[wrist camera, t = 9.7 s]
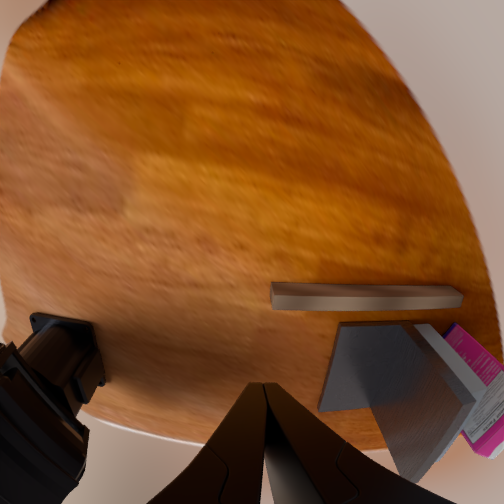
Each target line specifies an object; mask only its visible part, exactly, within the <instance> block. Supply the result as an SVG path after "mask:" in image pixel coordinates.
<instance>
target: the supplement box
mask: <svg viewBox="0 0 504 504" xmlns="http://www.w3.org/2000/svg"><path fill="white" fill-rule="evenodd" d="M442 338H443V339H444V340H445V341H446V342H447V343H448V344H449V345H450V346H451V347H452V348H453V349H454V350H455V352H456V353H457V354H458V355H459V356H460V357H461V358H462V359H463V360H464V361H465V363H466V364H467V365H468V366H469V367H470V368H471V369H472V370H473V372H474V373H475V374H476V375H477V376H478V377H479V378H480V380H481V381H482V382H483V383H484V384H485V385H486V386H487V388H488V389H487V391H486V392H485V394H484V396H483V398H482V399H481V401H480V403H479V404H478V406H477V408H476V409H475V411H474V413H473V414H472V416H471V417H470V419H469V420H468V422H467V423H466V425H465V426H464V428H463V429H462V431H461V433H462V435H463V436H464V438H465V439H466V441H467V442H468V444H469V445H470V447H471V448H472V450H473V451H474V452H475V453H477V454H479V455H481V456H484V457H486V458H489V459H492V460H493V459H494V458H495V457H496V456H497V455H498V454H499V453H500V452H501V451H502V450H503V449H504V366H503V365H502V364H501V363H500V362H499V361H498V360H497V359H496V358H495V357H493V356H492V355H491V354H490V353H489V352H488V351H487V350H486V349H485V348H484V347H483V346H482V345H480V344H479V343H478V342H477V341H476V340H475V339H474V338H473V337H472V336H471V335H469V334H468V333H467V332H466V331H465V330H464V329H463V328H461V327H460V326H459V325H458V324H457V323H454V324H453V325H452V326H451V327H450V328H449V329H448V331H447V332H446V333H445V334H444V335H443V336H442Z"/></svg>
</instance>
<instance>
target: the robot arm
mask: <svg viewBox="0 0 504 504" xmlns="http://www.w3.org/2000/svg"><path fill="white" fill-rule="evenodd" d="M34 318H35V319H34ZM30 322H31V326H32V329H33V333H32V334H31V335H30V336H29V337H28V339H27V340H26V341H25V342H24V343H23V344H22V345H21V346H20V347H19V348H18V349H16V346H15V344H14V343H13V341H11V342H10V343H8V344H7V345H5V344H2V343H0V504H61V503H62V502H63V500H64V499H65V498H66V496H67V495H68V494H69V493H70V492H71V491H72V490H73V489H74V488H75V487H77V486H78V484H79V481H80V479H81V478H82V476H83V473H84V471H85V467H86V457H87V448H88V440H89V432H90V430H89V429H88V428H87V427H86V426H85V425H82V423H81V422H80V421H78V420H77V419H76V416H77V414H78V412H79V410H80V409H81V407H82V405H83V404H88V403H89V401H90V400H91V398H92V396H93V394H94V392H95V390H96V388H97V386H100V387H103V386H104V385H105V383H106V379H105V375H104V373H105V371H104V367H103V363H102V359H101V355H100V351H99V349H98V347H97V343H96V338H95V334H94V329H93V326H92V325H91V324H90V323H89V322H85V321H79V320H72V319H66V318H61V317H55V316H49V315H44V314H39V313H33V314H31V315H30ZM86 327H87V328H88V330H87V329H86ZM264 459H265V463H266V468H267V473H268V477H269V482H270V486H271V491H272V496H273V500H274V504H456V503H454V502H452V501H449V500H447V499H445V498H443V497H441V496H438V495H437V494H434V493H432V492H430V491H428V490H426V489H424V488H422V487H420V486H418V485H416V484H414V483H412V482H410V481H409V480H407V479H405V478H403V477H401V476H399V475H397V474H395V473H394V472H392V471H390V470H388V469H386V468H385V467H383V466H381V465H380V464H378V463H377V462H375V461H373V460H372V459H370V458H369V457H367V456H366V455H364V454H363V453H362V452H360V451H359V450H357V449H356V448H355V447H354V446H352V445H351V444H350V443H348V442H346V441H345V440H344V439H343V438H341V437H340V436H339V435H338V434H336V433H335V432H334V431H333V430H331V429H330V428H329V427H328V426H326V425H325V424H324V423H323V422H322V421H320V420H319V419H318V418H317V417H316V416H314V415H313V414H312V413H311V412H310V411H309V410H307V409H306V408H305V407H304V406H303V405H301V404H300V403H299V402H298V401H297V400H296V399H295V398H293V397H292V396H291V395H290V394H289V393H288V392H287V391H285V390H284V389H283V388H282V387H281V386H280V385H279V384H277V383H263V384H262V383H260V382H249V383H248V384H247V386H246V387H245V389H244V390H243V392H242V393H241V395H240V396H239V398H238V399H237V400H236V402H235V403H234V405H233V406H232V408H231V409H230V411H229V412H228V413H227V415H226V416H225V418H224V419H223V421H222V422H221V423H220V425H219V426H218V428H217V429H216V430H215V432H214V433H213V435H212V436H211V437H210V439H209V440H208V441H207V443H206V444H205V446H203V448H202V449H201V450H200V452H199V453H198V454H197V456H196V457H195V458H194V459H193V460H192V462H191V463H190V464H189V465H188V466H187V467H186V468H185V469H184V470H183V472H181V473H180V474H179V475H178V476H177V477H176V478H175V479H174V480H173V481H172V482H171V483H170V484H169V485H167V486H166V487H165V488H164V489H163V490H162V491H161V492H159V493H158V494H157V495H156V496H155V497H154V498H152V499H151V500H150V501H149V502H148V503H147V504H260V499H261V488H262V476H263V464H264Z"/></svg>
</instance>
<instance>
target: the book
mask: <svg viewBox="0 0 504 504" xmlns="http://www.w3.org/2000/svg"><path fill="white" fill-rule="evenodd" d="M414 327H415V328H416V329H417V330H418V331H419V332H420V333H421V334H422V336H423V337H424V338H425V339H426V340H427V341H428V342H429V344H430V345H431V346H432V347H433V348H434V349H435V351H436V352H437V353H438V354H439V355H440V356H441V358H442V359H443V360H444V361H445V362H446V364H447V365H448V366H449V367H450V368H451V370H452V371H453V372H454V373H455V374H456V376H457V377H458V378H459V379H460V381H461V382H462V383H463V384H464V385H465V387H466V388H467V389H468V391H469V392H470V393H471V394H472V396H473V397H474V398H475V399H476V403H475V405H474V406H473V408H472V410H471V411H470V413H469V414H468V416H467V418H466V419H465V421H464V422H463V424H462V425H461V427H460V428H459V430H458V431H457V433H456V434H455V436H454V437H453V438H452V440H451V441H450V443H449V444H448V445H447V447H446V448H445V449H444V451H443V452H442V453H441V455H440V456H439V457H438V459H437V460H436V461H435V462H438V461H439V460H440V459H441V458H442V457H443V455H444V454H445V453H446V451H447V450H448V449H449V448H450V446H451V445H452V443H453V442H454V440H455V439H456V438H457V437H458V435H459V434H460V432H461V431H462V429H463V428H464V426H465V425H466V423H467V422H468V420H469V419H470V417H471V416H472V414H473V413H474V411H475V409H476V408H477V406H478V404H479V403H480V401H481V399H482V398H483V396H484V394H485V392H486V391H487V389H488V388H487V386H486V385H485V384H484V383H483V382H482V381H481V380H480V378H479V377H478V376H477V375H476V374H475V373H474V372H473V370H472V369H471V368H470V367H469V366H468V365H467V364H466V363H465V361H464V360H463V359H462V358H461V357H460V356H459V355H458V354H457V353H456V352H455V350H454V349H453V348H452V347H451V346H450V345H449V344H448V343H447V342H446V341H445V340H444V339H443V338H442V337H441V335H440V334H439V333H438V332H437V331H436V330H435V329H434V328H433V327H432V326H431V325H430V324H415V325H414ZM435 462H434V463H435Z"/></svg>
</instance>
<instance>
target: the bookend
mask: <svg viewBox="0 0 504 504" xmlns="http://www.w3.org/2000/svg"><path fill="white" fill-rule="evenodd" d="M475 403H476V399H475V398H474V397H473V396H472V394H471V393H470V392H469V391H468V389H467V388H466V387H465V385H464V384H463V383H462V382H461V381H460V379H459V378H458V377H457V376H456V374H455V373H454V372H453V371H452V370H451V368H450V367H449V366H448V365H447V364H446V362H445V361H444V360H443V359H442V358H441V356H440V355H439V354H438V353H437V352H436V351H435V349H434V348H433V347H432V346H431V345H430V344H429V342H428V341H427V340H426V339H425V338H424V337H423V336H422V334H421V333H420V332H419V331H418V330H417V329H416V328H415V327H414V325H413V324H412V323H411V322H410V321H387V322H348V323H339V325H338V329H337V334H336V338H335V342H334V347H333V351H332V355H331V359H330V363H329V367H328V371H327V374H326V378H325V382H324V386H323V389H322V393H321V396H320V400H319V403H318V407H317V408H318V412H327V411H339V410H350V409H359V408H367V407H370V408H371V410H372V413H373V415H374V417H375V419H376V421H377V424H378V426H379V428H380V430H381V433H382V435H383V437H384V439H385V442H386V444H387V446H388V449H389V451H390V453H391V456H392V457H393V460H394V463H395V465H396V467H397V470H398V472H399V474H400V476H401V477H403V478H405V479H407V480H409V481H410V482H412V483H414V484H415V483H417V482H419V480H420V479H421V478H422V477H423V476H424V475H425V473H426V472H427V471H428V469H430V467H431V466H432V465H433V464H434V462H435V461H436V460H437V459H438V457H439V456H440V455H441V453H442V452H443V451H444V449H445V448H446V447H447V445H448V444H449V443H450V441H451V440H452V438H453V437H454V436H455V434H456V433H457V431H458V430H459V428H460V427H461V425H462V424H463V422H464V421H465V419H466V418H467V416H468V414H469V413H470V411H471V410H472V408H473V406H474V405H475Z"/></svg>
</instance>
